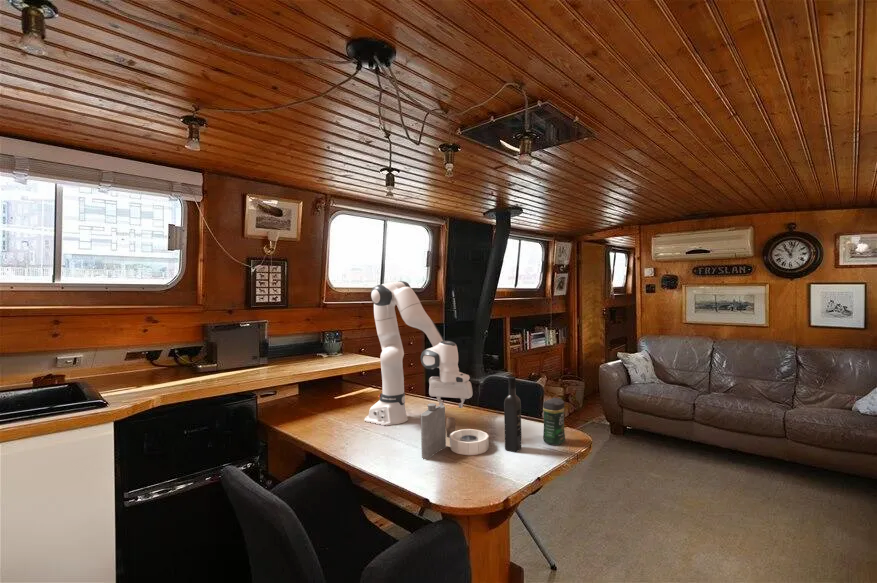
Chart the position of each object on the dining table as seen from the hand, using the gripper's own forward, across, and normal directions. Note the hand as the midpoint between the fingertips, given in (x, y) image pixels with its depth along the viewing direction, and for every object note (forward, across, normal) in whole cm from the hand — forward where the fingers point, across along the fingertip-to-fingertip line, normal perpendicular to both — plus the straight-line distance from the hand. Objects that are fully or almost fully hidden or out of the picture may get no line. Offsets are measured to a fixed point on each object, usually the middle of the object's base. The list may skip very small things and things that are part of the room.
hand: (451, 406), depth 192 cm
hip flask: (+14, -1, -20) cm, 24 cm away
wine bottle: (+14, +29, -6) cm, 33 cm away
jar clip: (+14, +11, -10) cm, 20 cm away
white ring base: (+14, +11, -10) cm, 20 cm away
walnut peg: (+14, -1, 0) cm, 14 cm away
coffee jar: (+15, +44, +8) cm, 47 cm away
